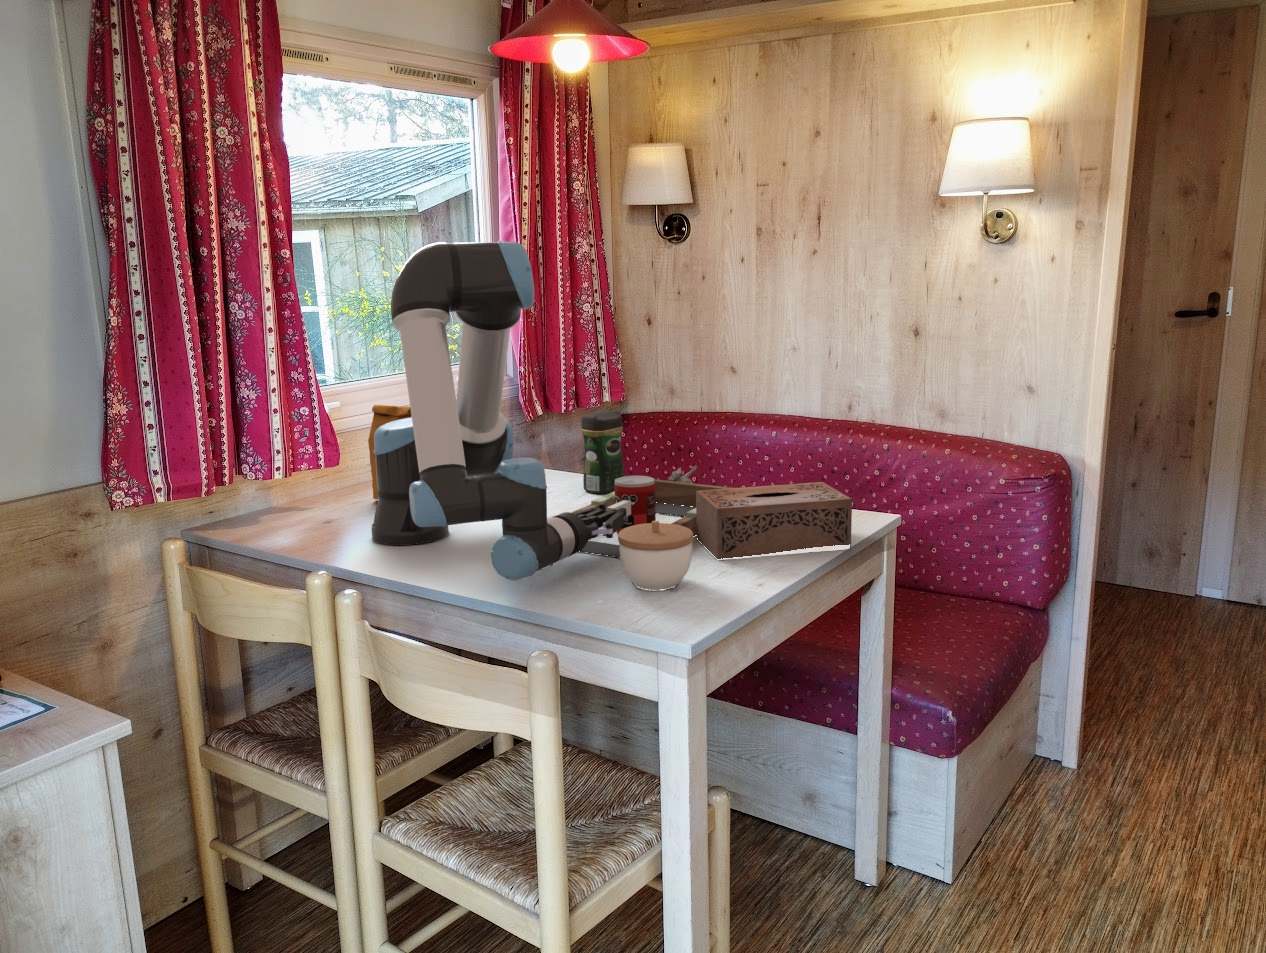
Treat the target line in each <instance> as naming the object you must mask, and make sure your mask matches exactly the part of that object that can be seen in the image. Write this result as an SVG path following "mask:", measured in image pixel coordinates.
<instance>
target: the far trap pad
mask: <svg viewBox="0 0 1266 953" xmlns="http://www.w3.org/2000/svg"><path fill="white" fill-rule="evenodd" d="M694 508H696V507H690V506H681V505H673V504H664V503H656V502H655V512H656V513H661V514H660V515H662V514H669V515H668V516H670V514H671V515H677V516H676V517H678V516H686V513H687V512H689V511H691V510H692V509H694Z"/></svg>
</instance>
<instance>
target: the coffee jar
mask: <svg viewBox="0 0 1266 953" xmlns="http://www.w3.org/2000/svg"><path fill="white" fill-rule="evenodd" d="M580 427H581V429H580V430H581V434H582V437H583V442H584V443H583V444H584V446H583V447H584V459H583V460H584V463H583V465H584V466H583V484H582V485H583V489H584V491H586V492H587V491H588V493H590V492H592V493H591V494H594V493H595V494H609V493H608V492H610V493H612V492H614V491H615V479H617V478H620V477H625V472H624V471H625V470H624V469H625V468H624V464H623V452H622V451H623V450H622V433H623V429H624V427H623V418H622V415H621V414H620V412H619V411H615V410H614V411H613V410H602V411H597V412H593V413H588V414H584V415H583V416H582V417H581V425H580Z"/></svg>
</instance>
